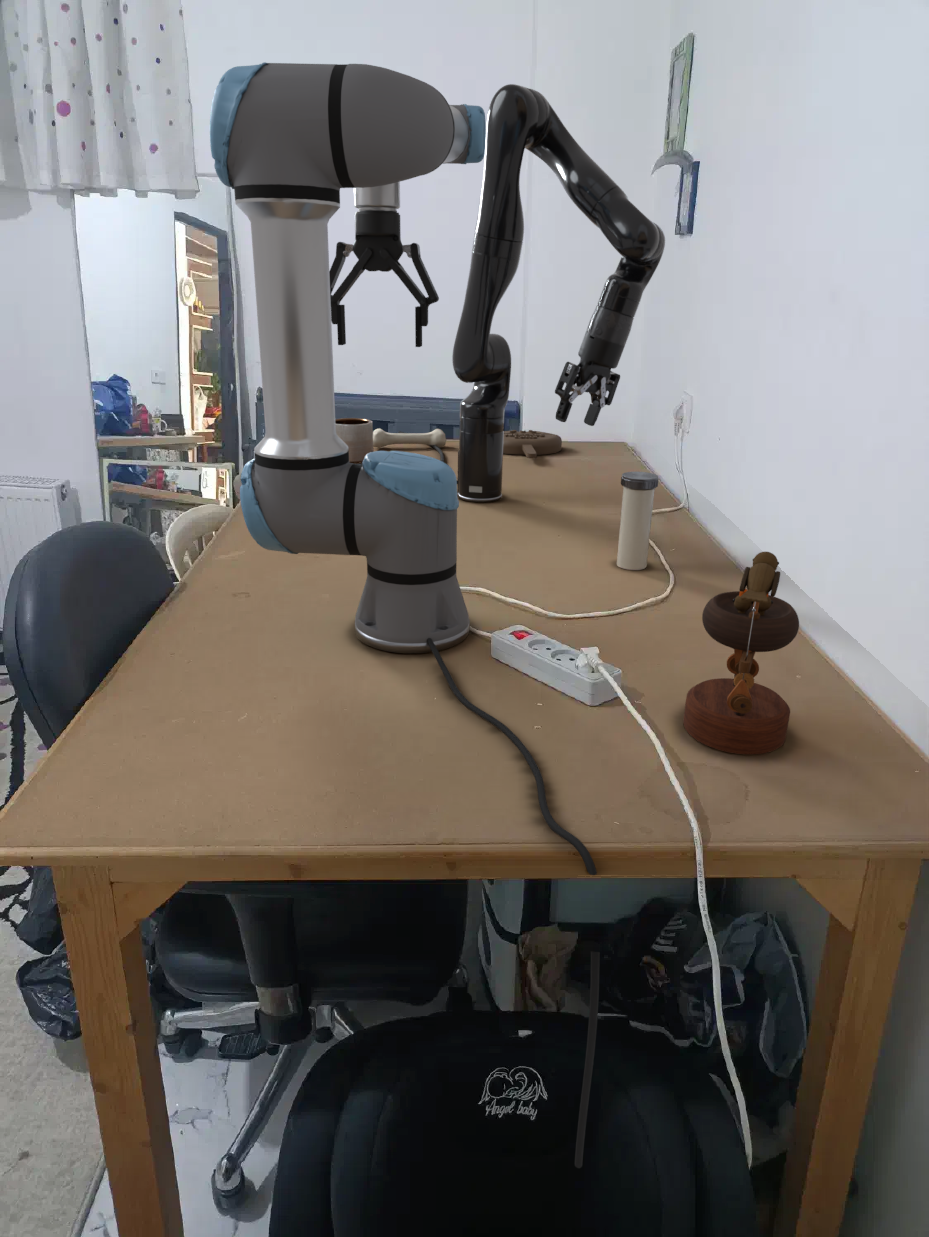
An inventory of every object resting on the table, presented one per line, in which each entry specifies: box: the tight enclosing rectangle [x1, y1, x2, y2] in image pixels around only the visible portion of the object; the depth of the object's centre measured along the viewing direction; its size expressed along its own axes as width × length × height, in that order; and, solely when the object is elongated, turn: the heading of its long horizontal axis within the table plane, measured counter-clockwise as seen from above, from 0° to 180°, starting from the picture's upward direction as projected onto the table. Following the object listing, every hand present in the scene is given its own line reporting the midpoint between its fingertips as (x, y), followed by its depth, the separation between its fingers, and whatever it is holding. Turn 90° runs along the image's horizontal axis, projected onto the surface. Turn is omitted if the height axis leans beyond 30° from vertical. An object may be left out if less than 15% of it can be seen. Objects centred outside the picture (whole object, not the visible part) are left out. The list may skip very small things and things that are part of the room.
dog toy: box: [373, 428, 447, 449], centre depth 229 cm, size 20×6×5 cm, turn 99°
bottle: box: [616, 486, 656, 571], centre depth 137 cm, size 5×5×15 cm
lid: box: [620, 471, 659, 490], centre depth 135 cm, size 6×6×2 cm
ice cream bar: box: [503, 429, 563, 459], centre depth 225 cm, size 21×28×4 cm
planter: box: [335, 417, 375, 464], centre depth 212 cm, size 11×11×10 cm
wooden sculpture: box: [682, 551, 800, 755], centre depth 87 cm, size 15×11×20 cm
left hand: (380, 345), depth 147 cm, fingers open, 13 cm apart
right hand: (574, 422), depth 159 cm, fingers open, 8 cm apart
